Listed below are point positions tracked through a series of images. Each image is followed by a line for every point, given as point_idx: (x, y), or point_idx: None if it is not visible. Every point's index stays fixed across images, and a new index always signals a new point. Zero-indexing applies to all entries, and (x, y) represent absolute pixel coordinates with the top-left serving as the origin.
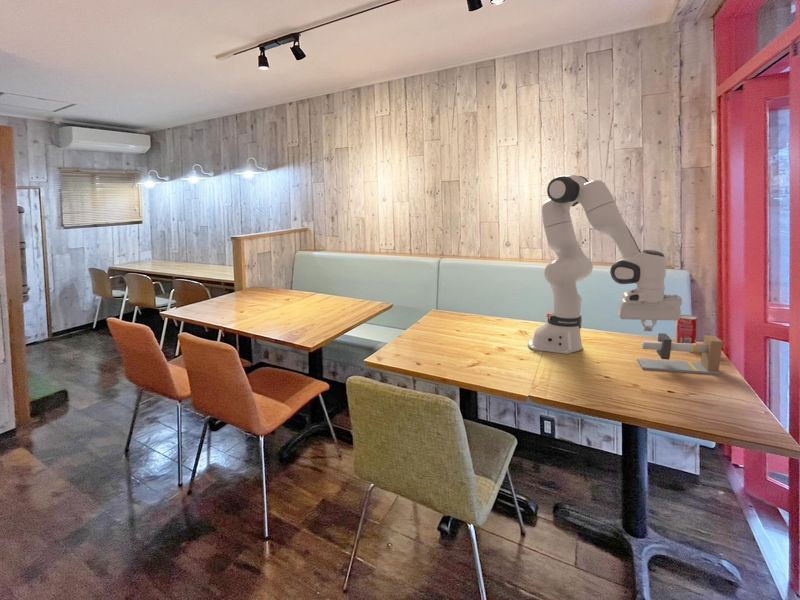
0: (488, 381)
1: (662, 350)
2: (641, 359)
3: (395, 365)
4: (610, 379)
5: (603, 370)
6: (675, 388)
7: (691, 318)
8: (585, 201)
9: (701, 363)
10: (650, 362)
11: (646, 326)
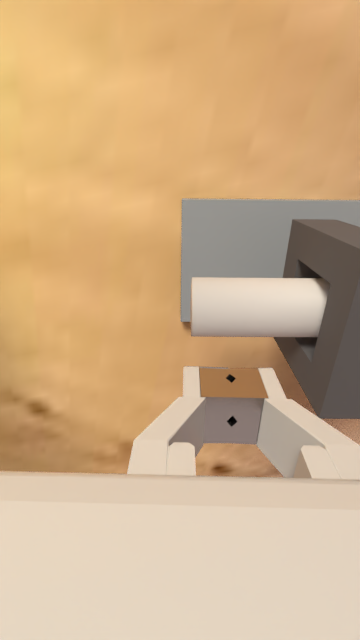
0: None
1: (289, 357)
2: (201, 212)
3: None
4: (52, 424)
5: (21, 355)
6: (245, 449)
7: None
8: None
9: None
10: (235, 252)
11: (213, 427)
